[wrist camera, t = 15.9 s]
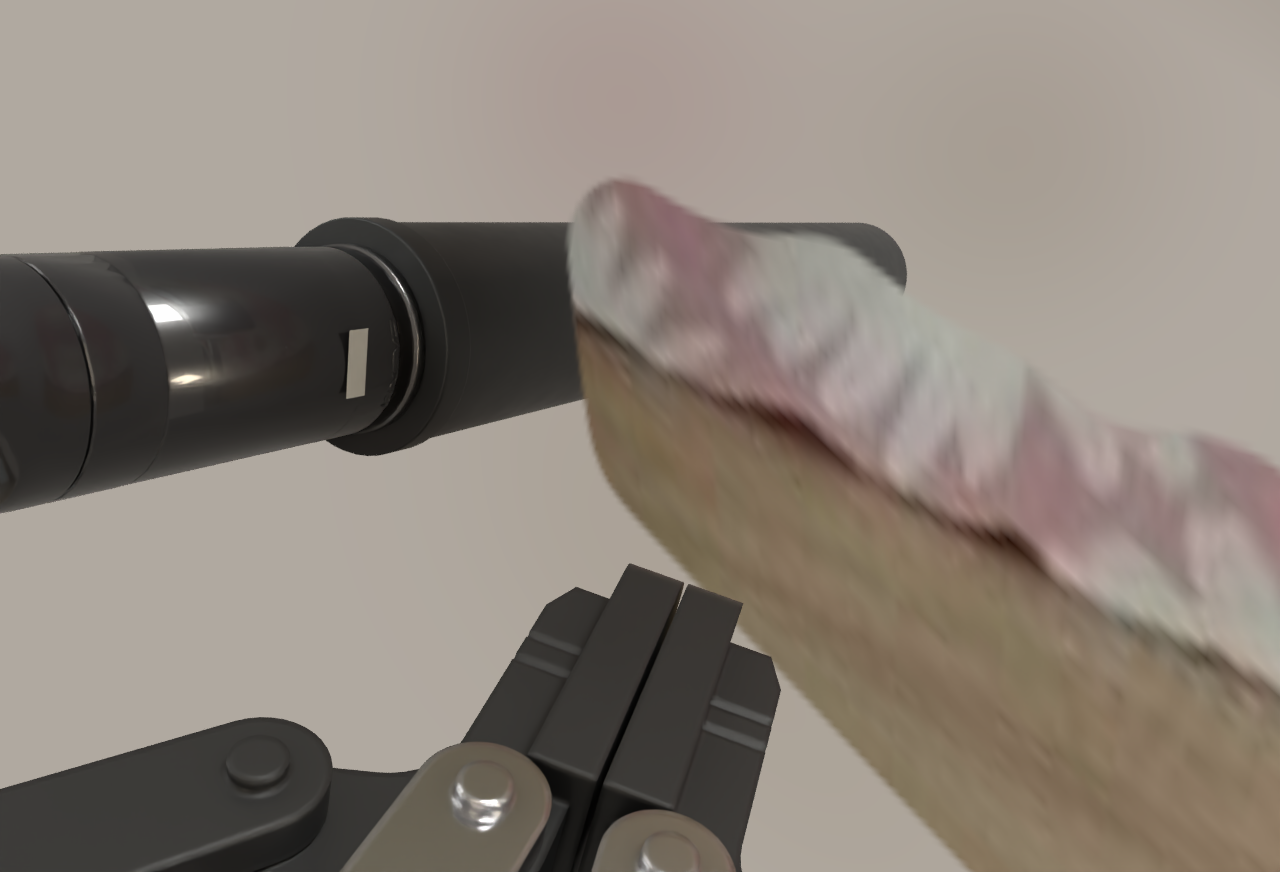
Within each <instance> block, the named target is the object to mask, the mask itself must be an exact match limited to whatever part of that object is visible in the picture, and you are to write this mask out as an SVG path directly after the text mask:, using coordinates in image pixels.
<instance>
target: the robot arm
mask: <svg viewBox="0 0 1280 872" xmlns="http://www.w3.org/2000/svg"><path fill="white" fill-rule="evenodd" d="M425 354H426V343H425V332H424V326H423V321H422V317H421V313H420V310H419V307H418V304H417V302H416V299H415V297H414V295H413V292H412V290H411V288H410V287H409V285H408V283H407V282H406V280H405V279H404V277H403V276H402V274H401V273H400V272H399V271H398V270H397V268H396V267H395V266H394V265H393V264H392V263H391V262H390V261H389V260H387V259H386V258H385V257H384V256H382V255H381V254H379V253H378V252H376V251H374V250H372V249H370V248H367V247H365V246H361V245H357V244H330V245H325V246H322V247H263V248H221V249H183V250H182V249H181V250H137V251H101V252H100V251H95V252H73V253H72V252H71V253H30V254H1V255H0V513H5V512H11V511H15V510H20V509H24V508H28V507H33V506H37V505H41V504H45V503H50V502H54V501H59V500H64V499H67V498H72V497H77V496H81V495H85V494H90V493H94V492H99V491H103V490H107V489H112V488H116V487H120V486H124V485H128V484H132V483H137V482H141V481H146V480H150V479H154V478H159V477H163V476H168V475H172V474H176V473H181V472H185V471H190V470H194V469H198V468H203V467H207V466H212V465H216V464H220V463H225V462H229V461H233V460H238V459H242V458H246V457H251V456H255V455H260V454H264V453H269V452H273V451H277V450H282V449H286V448H291V447H295V446H299V445H304V444H308V443H313V442H318V441H322V440H327V439H331V438H336V437H340V436H344V435H349V434H362V433H367V432H371V431H375V430H379V429H382V428H385V427H387V426H389V425H391V424H392V423H393V422H395V421H396V420H397V419H399V418H400V417H401V416H402V415H403V414H404V413H405V411H406V410H407V409H408V408H409V406H410V405H411V403H412V401H413V400H414V398H415V396H416V394H417V391H418V389H419V386H420V383H421V380H422V376H423V372H424V365H425ZM683 586H684V583H683V582H681V581H678V580H675V579H673V578H670V577H667V576H664V575H661V574H659V573H655V572H653V571H650V570H647V569H644V568H641V567H638V566H636V565H633V564H629V565H628V566H627V568H626V570H625V571H624V573H623V575H622V577H621V579H620V581H619V583H618V584H617V586H616V588H615V590H614V592H613V594H612V596H611V598H610V599H608V598H605V597H602V596H600V595H597V594H594V593H592V592H589V591H586V590H583V589H580V588H578V587H575V588H574V589H572V590H571V591H569V592H567V593H565V594H564V595H562V596H560V597H558V598H557V599H555V600H553V601H552V602H550V603H548V604H547V605H546V606H545V608H544V609H543V611H542V612H541V614H540V616H539V617H538V619H537V621H536V622H535V624H534V626H533V627H532V629H531V630H530V633H529V636H528V637H526V638H525V640H524V642H523V643H522V645H521V646H520V648H519V650H518V651H517V653H516V656H515V658H514V659H512V661H511V663H510V664H509V666H508V668H507V669H506V671H505V672H504V674H503V676H502V677H501V679H500V681H499V682H498V684H497V685H496V687H495V689H494V690H493V692H492V693H491V695H490V697H489V698H488V700H487V702H486V703H485V705H484V706H483V708H482V710H481V711H480V713H479V715H478V716H477V718H476V719H475V721H474V723H473V724H472V726H471V727H470V729H469V731H468V732H467V734H466V736H465V737H464V739H463V740H462V741H461V743H460V744H456V745H453V746H450V747H447V748H445V749H443V750H441V751H439V752H437V753H435V754H434V755H433V756H432V757H430V758H429V759H428V760H427V761H426V762H425V763H424V764H423V765H422V766H421V767H420V769H417V770H412V771H407V772H398V773H379V772H378V773H377V772H368V771H358V770H347V769H338V768H332V761H331V756H330V753H329V751H328V749H327V747H326V746H325V745H324V743H323V742H322V740H321V739H320V738H319V737H318V736H317V735H316V734H315V733H313V732H312V731H310V730H309V729H307V728H305V727H303V726H301V725H299V724H297V723H294V722H291V721H287V720H284V719H277V718H264V717H259V718H248V719H243V720H238V721H234V722H230V723H227V724H224V725H220V726H217V727H213V728H210V729H206V730H203V731H200V732H196V733H192V734H189V735H185V736H182V737H179V738H175V739H172V740H168V741H165V742H161V743H158V744H154V745H151V746H147V747H144V748H141V749H137V750H134V751H130V752H127V753H123V754H120V755H117V756H113V757H110V758H106V759H103V760H99V761H96V762H92V763H89V764H86V765H82V766H79V767H75V768H72V769H68V770H65V771H61V772H58V773H54V774H51V775H47V776H44V777H41V778H37V779H34V780H30V781H27V782H23V783H20V784H17V785H13V786H9V787H6V788H3V789H0V872H742V870H741V857H740V855H741V849H742V843H743V840H744V835H745V832H746V828H747V823H748V819H749V816H750V811H751V808H752V803H753V800H754V795H755V792H756V788H757V783H758V780H759V775H760V771H761V767H762V763H763V759H764V755H765V750H766V747H767V743H768V739H769V735H770V731H771V726H772V722H773V719H774V715H775V711H776V707H777V703H778V699H779V695H780V691H781V689H780V686H779V682H778V679H777V675H776V672H775V669H774V665H773V662H772V659H771V657H769V656H767V655H764V654H761V653H758V652H756V651H753V650H750V649H747V648H744V647H742V646H739V645H736V644H734V643H731V642H730V641H731V638H732V635H733V632H734V629H735V626H736V623H737V620H738V617H739V614H740V611H741V608H742V605H743V603H741V602H738V601H735V600H732V599H730V598H727V597H724V596H721V595H718V594H715V593H713V592H710V591H707V590H704V589H701V588H699V587H696V586H693V585H690V584H688V586H687V588H686V590H685V593H684V595H683V597H682V600H681V602H680V605H679V607H678V604H679V600H680V597H681V594H682V590H683ZM677 607H678V609H677Z"/></svg>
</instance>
